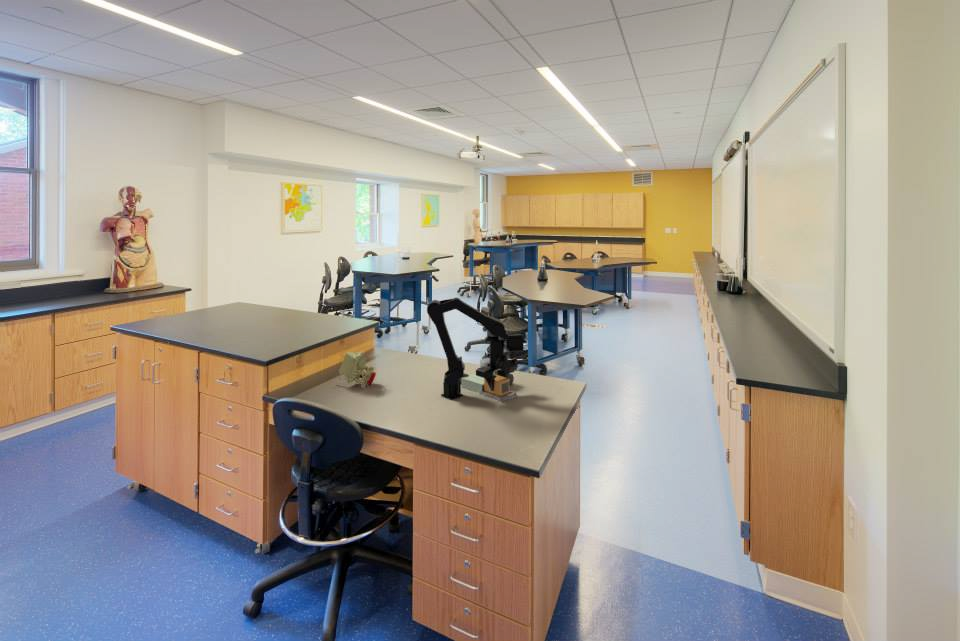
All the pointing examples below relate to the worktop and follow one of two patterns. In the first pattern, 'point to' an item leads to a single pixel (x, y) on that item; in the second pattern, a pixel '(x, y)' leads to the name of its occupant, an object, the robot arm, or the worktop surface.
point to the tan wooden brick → (498, 386)
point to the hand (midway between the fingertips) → (496, 389)
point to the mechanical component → (356, 369)
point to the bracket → (510, 395)
